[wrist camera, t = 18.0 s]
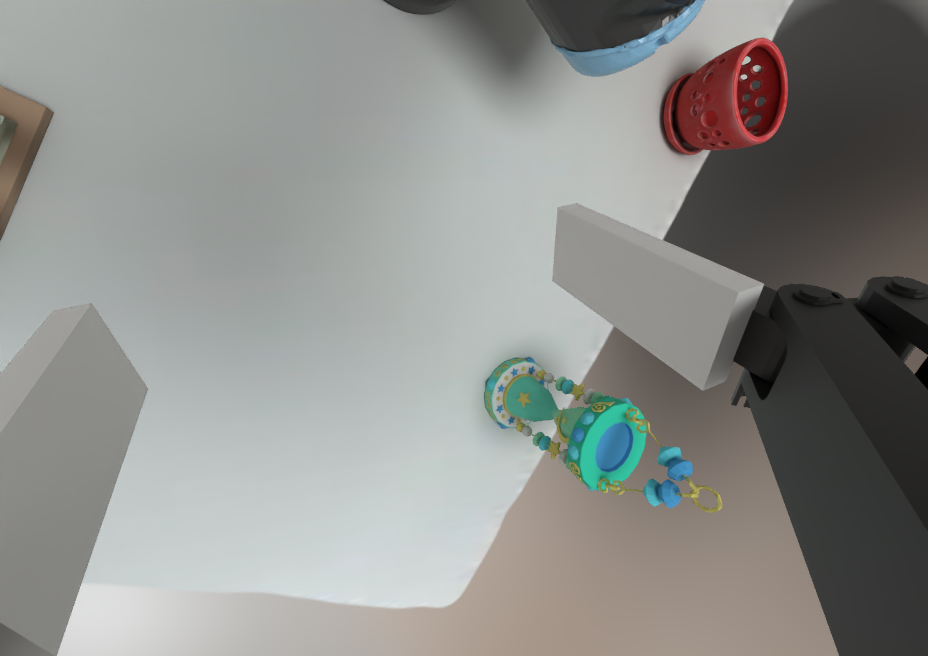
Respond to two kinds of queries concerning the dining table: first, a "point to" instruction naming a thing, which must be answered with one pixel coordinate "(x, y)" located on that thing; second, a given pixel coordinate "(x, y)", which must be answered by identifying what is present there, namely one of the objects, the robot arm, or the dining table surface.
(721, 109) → the plant pot
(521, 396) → the decorative hourglass
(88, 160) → the dining table surface
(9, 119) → the railed board
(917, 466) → the robot arm
